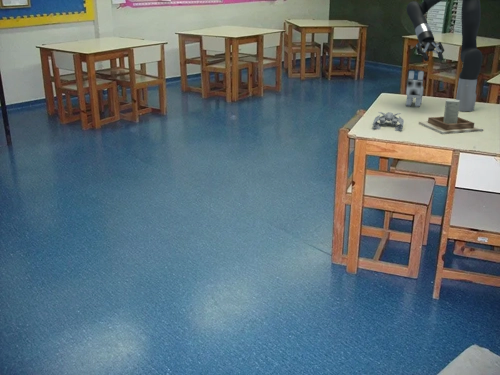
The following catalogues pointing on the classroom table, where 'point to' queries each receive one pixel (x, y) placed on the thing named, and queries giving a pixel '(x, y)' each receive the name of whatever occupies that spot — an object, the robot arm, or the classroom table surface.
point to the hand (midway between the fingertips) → (434, 59)
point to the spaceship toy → (388, 117)
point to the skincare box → (451, 111)
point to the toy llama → (414, 89)
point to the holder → (450, 125)
